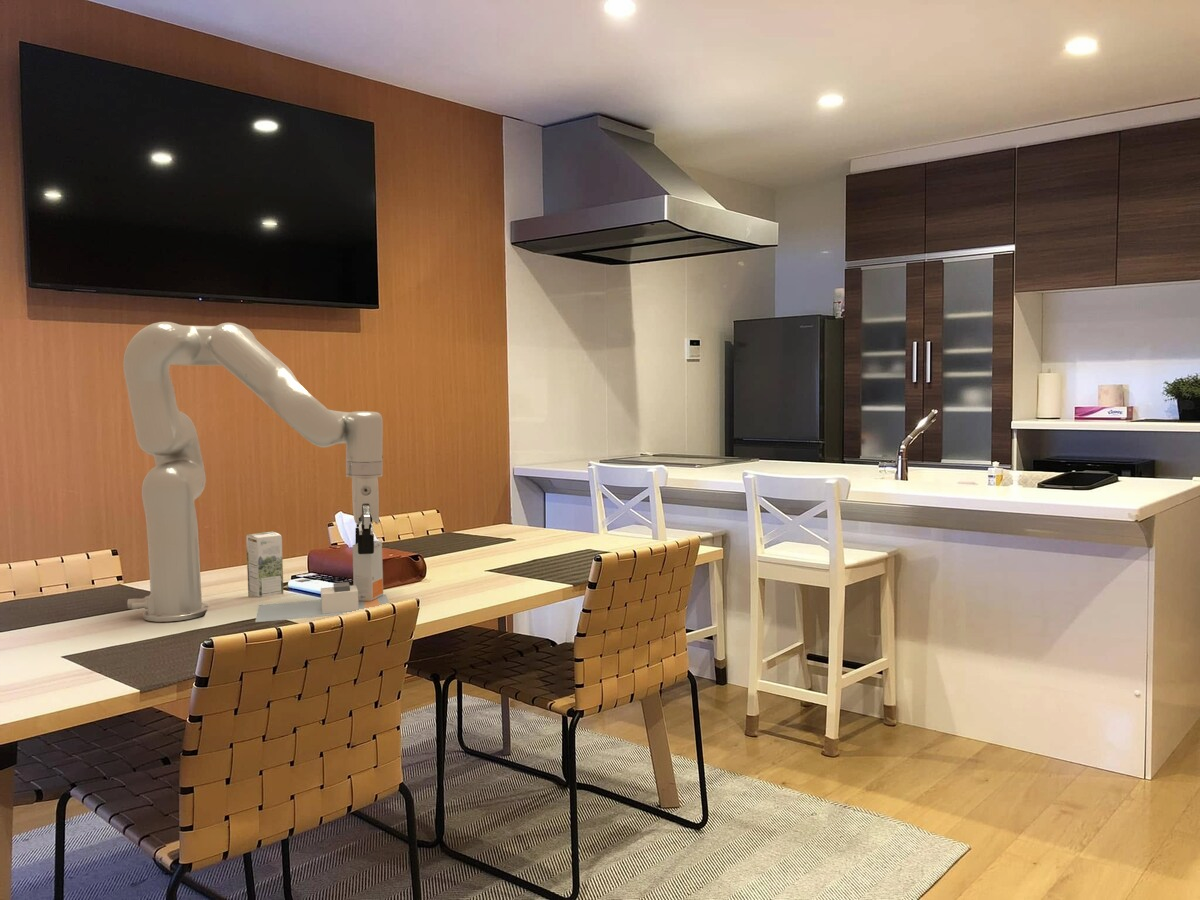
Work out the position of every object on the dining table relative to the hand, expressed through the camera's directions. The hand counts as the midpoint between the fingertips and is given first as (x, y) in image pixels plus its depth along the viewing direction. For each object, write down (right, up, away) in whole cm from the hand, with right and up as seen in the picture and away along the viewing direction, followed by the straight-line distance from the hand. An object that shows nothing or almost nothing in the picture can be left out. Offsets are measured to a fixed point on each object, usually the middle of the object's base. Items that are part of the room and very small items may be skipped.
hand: (364, 549), depth 197 cm
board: (-7, -12, -7) cm, 15 cm away
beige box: (-3, -11, -8) cm, 14 cm away
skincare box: (+1, -11, +1) cm, 11 cm away
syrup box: (-24, -12, +8) cm, 28 cm away
